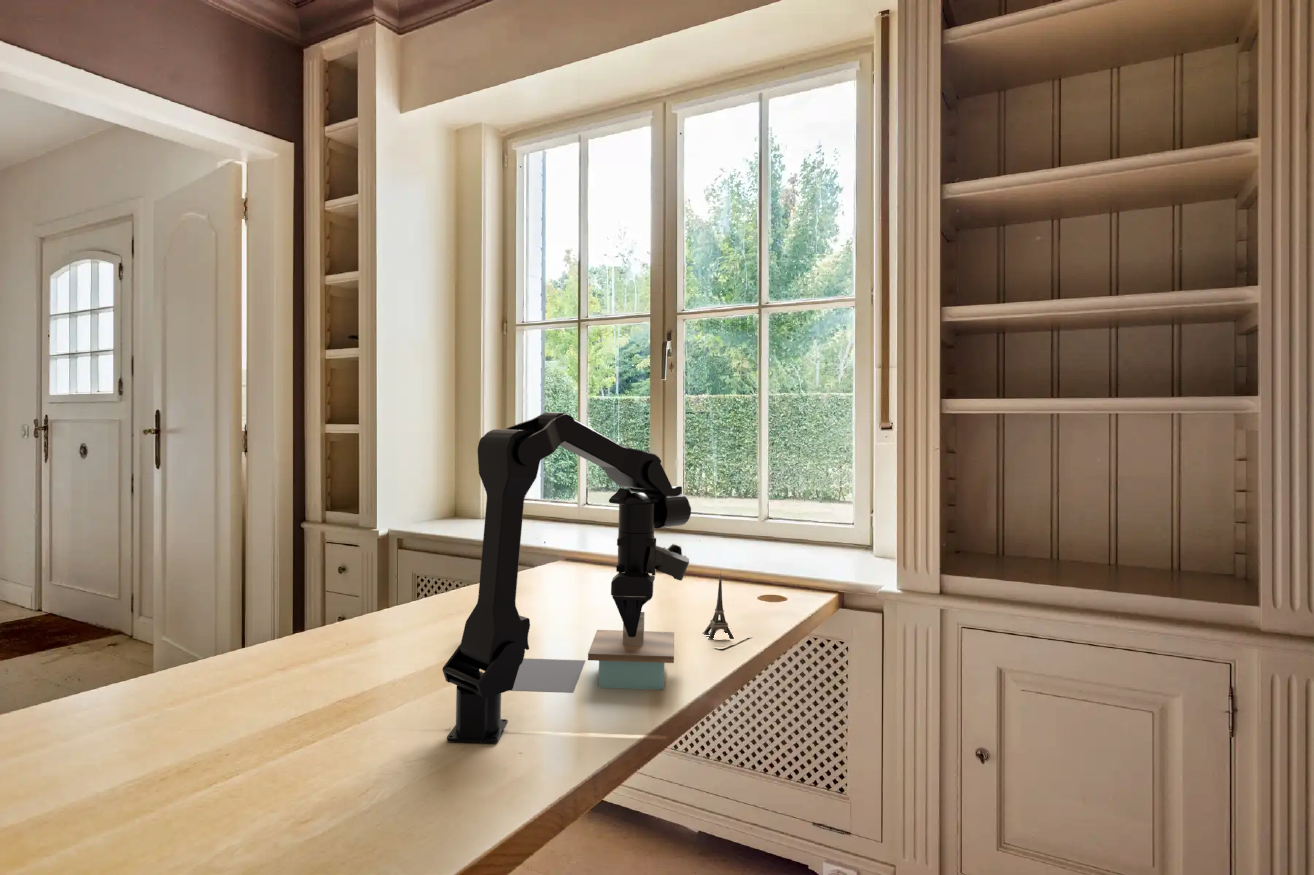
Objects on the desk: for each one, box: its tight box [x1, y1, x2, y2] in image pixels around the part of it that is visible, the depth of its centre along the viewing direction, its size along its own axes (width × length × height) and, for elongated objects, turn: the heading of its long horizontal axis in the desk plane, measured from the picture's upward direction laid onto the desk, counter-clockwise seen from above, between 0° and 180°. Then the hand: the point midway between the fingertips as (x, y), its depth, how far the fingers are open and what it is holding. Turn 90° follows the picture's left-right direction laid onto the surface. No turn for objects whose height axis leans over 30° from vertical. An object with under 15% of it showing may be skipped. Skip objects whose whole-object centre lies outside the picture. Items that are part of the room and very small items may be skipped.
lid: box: [587, 611, 675, 664], centre depth 118 cm, size 13×13×6 cm
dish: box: [597, 661, 666, 691], centre depth 118 cm, size 10×10×5 cm
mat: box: [509, 657, 586, 694], centre depth 118 cm, size 15×15×1 cm
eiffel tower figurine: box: [702, 570, 734, 641], centre depth 143 cm, size 15×10×13 cm
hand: (633, 628), depth 118 cm, fingers open, 9 cm apart
